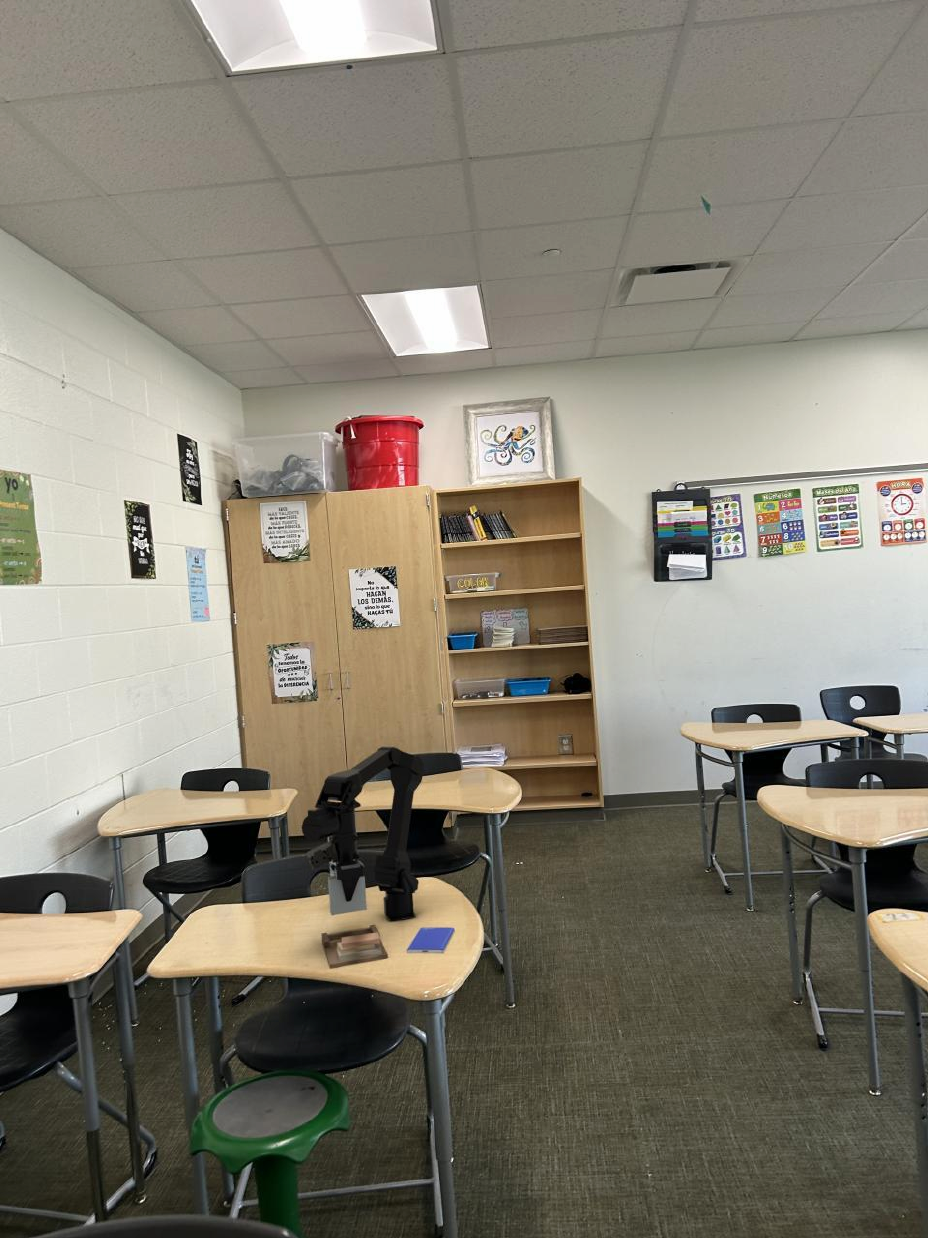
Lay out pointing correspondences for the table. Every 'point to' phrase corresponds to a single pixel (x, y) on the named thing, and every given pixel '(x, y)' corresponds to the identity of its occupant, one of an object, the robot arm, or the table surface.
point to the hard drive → (431, 940)
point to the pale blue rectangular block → (338, 898)
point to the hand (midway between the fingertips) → (347, 899)
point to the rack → (332, 939)
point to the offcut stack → (358, 946)
